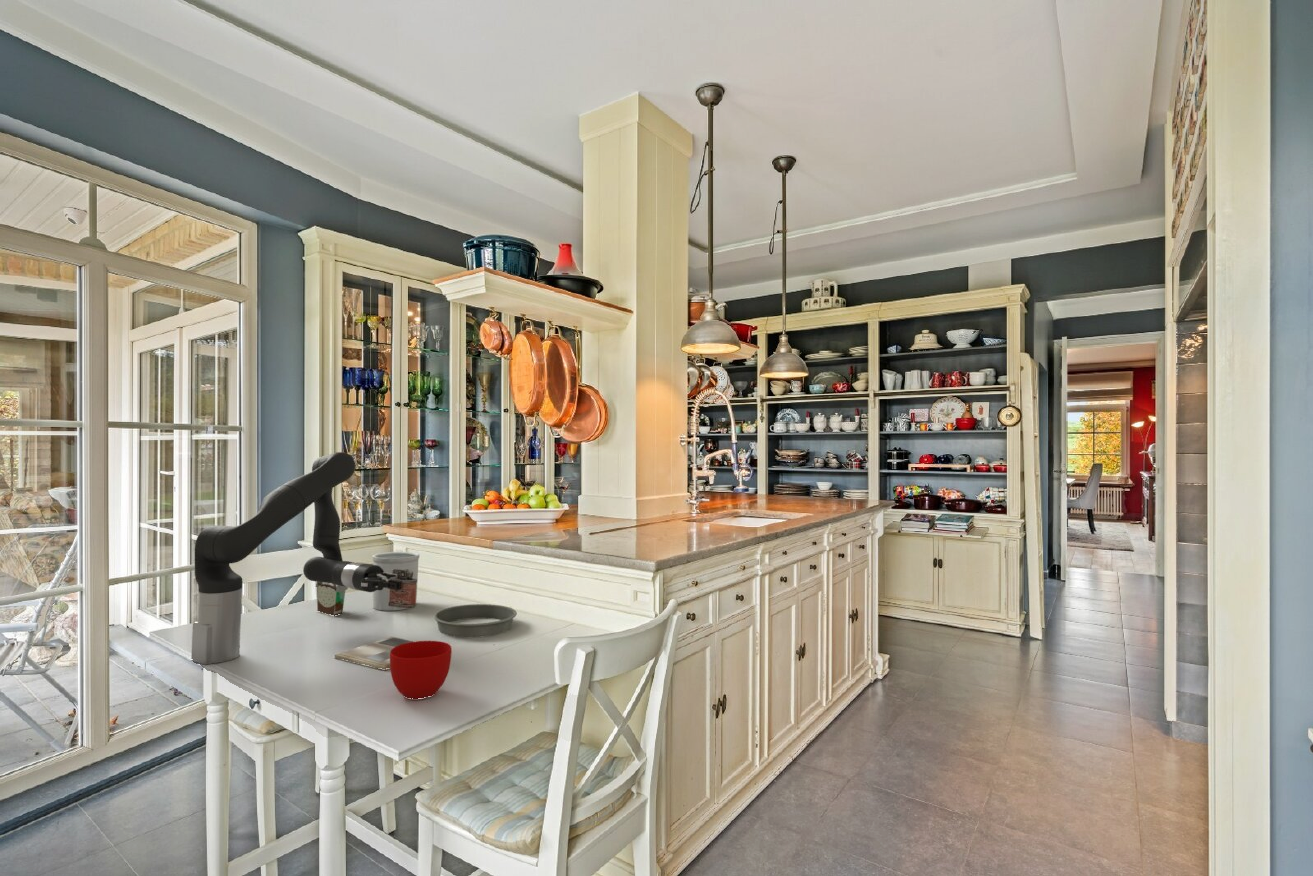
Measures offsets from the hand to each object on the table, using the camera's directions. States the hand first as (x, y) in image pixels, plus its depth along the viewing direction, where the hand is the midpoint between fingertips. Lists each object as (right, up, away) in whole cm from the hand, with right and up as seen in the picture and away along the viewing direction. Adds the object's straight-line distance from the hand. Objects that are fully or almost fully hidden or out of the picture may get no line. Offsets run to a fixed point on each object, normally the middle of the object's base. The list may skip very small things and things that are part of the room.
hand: (406, 584), depth 173 cm
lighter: (-1, -6, 0) cm, 6 cm away
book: (-3, -17, -5) cm, 18 cm away
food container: (-37, -17, +34) cm, 53 cm away
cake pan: (+12, -19, +22) cm, 31 cm away
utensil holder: (-22, -18, +44) cm, 52 cm away
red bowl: (+14, -17, -30) cm, 37 cm away
